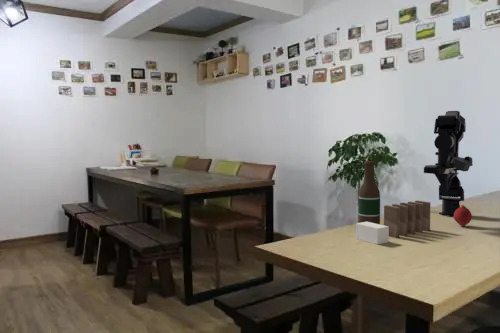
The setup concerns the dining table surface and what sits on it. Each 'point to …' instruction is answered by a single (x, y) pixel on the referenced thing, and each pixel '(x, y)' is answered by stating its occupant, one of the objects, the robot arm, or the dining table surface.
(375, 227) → the end block
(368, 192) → the beer bottle
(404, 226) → the domino
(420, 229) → the domino
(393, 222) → the domino
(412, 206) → the domino
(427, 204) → the domino
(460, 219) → the onion
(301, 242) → the dining table surface
